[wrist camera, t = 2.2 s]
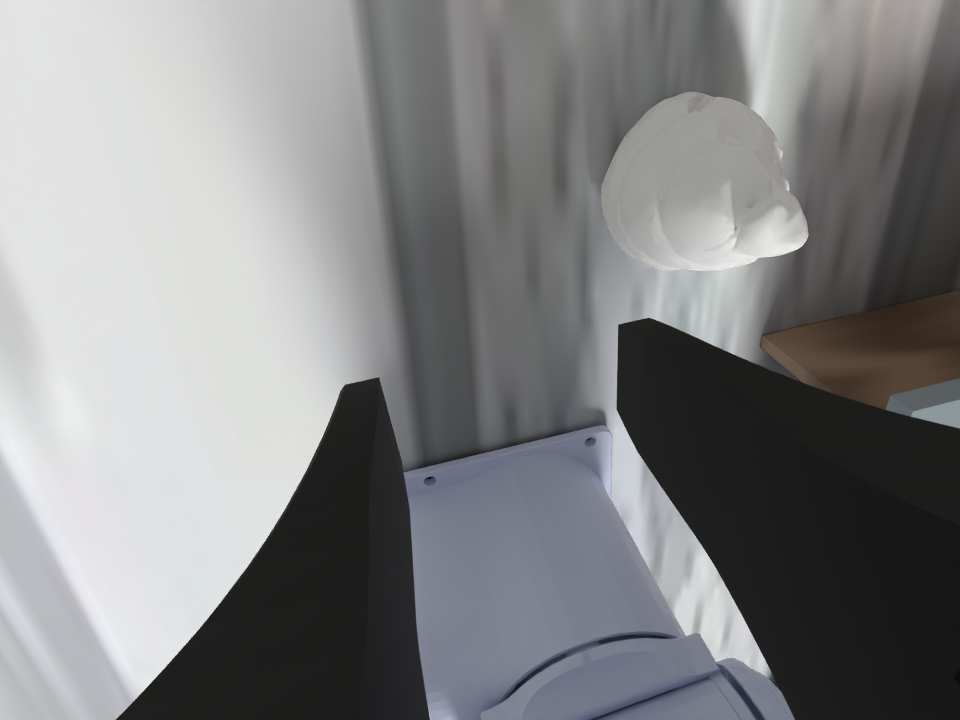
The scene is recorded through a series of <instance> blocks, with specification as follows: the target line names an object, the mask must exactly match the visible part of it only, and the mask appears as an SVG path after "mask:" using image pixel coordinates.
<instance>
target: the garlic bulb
mask: <svg viewBox="0 0 960 720" xmlns="http://www.w3.org/2000/svg"><path fill="white" fill-rule="evenodd" d="M782 155H783V150H782V149H781V148H780V146H779V145H778V142H777V138H776V137H775V135H774V133H773V132H772V130H771V129H770V128H769V127H768V126H767V124H766V123H765V121H764V120H763V119H762V118H761V116H760V115H758V114H757V113H756V112H755V111H753V110H752V109H750V108H749V107H748V106H746V105H744V104H742V103H740V102H738V101H736V100H732V99H729V98H724V97H715V98H714V97H712V96H709V95H706V94H703V93H699V92H685V93H681V94H679V95H676V96H675V97H672V98H667V99H664V100H662V101H661V102H659V103H658V104H656V105H655V106H653V107H652V108H650V109H649V110H648V111H647V112H646V113H645V114H644V115H643V116H642V118H641V119H640V120H639V121H638V122H637V123H636V124H635V125H634V126H633V127H632V128H631V129H630V131H629V132H628V133H627V134H626V135H625V137H624V138H623V140H622V142H621V144H620V146H619V147H618V149H617V151H616V153H615V155H614V157H613V159H612V161H611V163H610V166H609V168H608V170H607V173H606V175H605V178H604V181H603V184H602V188H601V208H602V213H603V216H604V219H605V221H606V224H607V226H608V229H609V231H610V233H611V235H612V237H613V239H614V240H615V242H616V244H617V245H618V246H619V247H620V249H621V250H622V251H623V252H625V253H626V254H627V255H628V256H629V257H630V258H632V259H633V260H636V261H639V262H641V263H644V264H646V265H648V266H650V267H652V268H655V269H658V270H665V271H667V270H680V269H686V270H694V271H709V270H710V271H711V270H722V269H728V268H732V267H737V266H742V265H746V264H750V263H753V262H755V261H756V260H757V259H758V258H759V257H774V256H779V255H783V254H786V253H789V252H792V251H795V250H797V249H799V248H800V247H802V246H803V245H804V243H805V242H806V240H807V238H808V235H809V233H808V227H807V220H806V218H805V215H804V214H803V212H802V209H801V206H800V203H799V202H798V200H797V199H796V198H795V196H793V195H792V194H791V193H790V192H789V189H790V183H789V181H788V180H787V179H786V178H785V177H784V176H783V174H782V170H781V167H780V163H781V159H782Z"/></svg>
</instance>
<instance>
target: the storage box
mask: <svg viewBox="0 0 960 720" xmlns="http://www.w3.org/2000/svg"><path fill="white" fill-rule="evenodd" d="M760 348H762V349H763V350H764V351H765V352H766V353H768V354H769V355H770V356H771V357H772V358H774V359H775V360H776V361H777V362H778V363H780V364H781V365H782V366H783V367H784V368H786V369H787V370H788V371H789V372H790V373H792V374H793V375H794V376H795V377H796V378H798V379H799V380H800V381H801V382H803V383H805V384H807V385H810V386H813V387H816V388H818V389H821V390H824V391H827V392H830V393H833V394H836V395H839V396H842V397H846V398H849V399H852V400H855V401H858V402H862V403H865V404H868V405H871V406H875V407H878V408H881V409H885V410H886V407H887V404H888V402H889V399H890V396H891V395H895V394H899V393H903V392H907V391H911V390H915V389H919V388H923V387H927V386H931V385H935V384H939V383H943V382H947V381H951V380H955V379H959V378H960V290H958V291H953V292H949V293H945V294H940V295H936V296H932V297H927V298H923V299H919V300H914V301H910V302H905V303H901V304H897V305H892V306H888V307H884V308H879V309H875V310H871V311H866V312H862V313H858V314H853V315H849V316H844V317H840V318H836V319H831V320H827V321H823V322H818V323H814V324H810V325H805V326H801V327H797V328H792V329H788V330H783V331H779V332H775V333H770V334H766V335H762V340H761V345H760Z"/></svg>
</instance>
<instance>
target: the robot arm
mask: <svg viewBox="0 0 960 720" xmlns="http://www.w3.org/2000/svg"><path fill="white" fill-rule="evenodd" d="M617 411H618V413H619V415H620V417H621V419H622V421H623V424H624V426H625V428H626V430H627V432H628V434H629V436H630V438H631V440H632V442H633V443H634V445H635V447H636V449H637V451H638V453H639V454H640V456H641V457H642V459H643V460H644V462H645V463H646V465H647V466H648V468H649V469H650V471H651V472H652V474H653V475H654V477H655V478H656V480H657V481H658V483H659V484H660V486H661V487H662V488H663V490H664V491H665V493H666V494H667V496H668V497H669V498H670V500H671V501H672V503H673V504H674V506H675V507H676V509H677V510H678V511H679V513H680V514H681V516H682V517H683V519H684V520H685V522H686V523H687V524H688V526H689V527H690V529H691V530H692V532H693V533H694V535H695V536H696V538H697V539H698V540H699V542H700V543H701V545H702V546H703V548H704V549H705V551H706V553H707V554H708V556H709V557H710V559H711V561H712V562H713V564H714V565H715V567H716V569H717V570H718V572H719V574H720V576H721V578H722V579H723V581H724V583H725V585H726V587H727V589H728V590H729V592H730V594H731V596H732V598H733V600H734V601H735V603H736V605H737V607H738V609H739V610H740V612H741V614H742V616H743V618H744V620H745V622H746V624H747V625H748V627H749V629H750V631H751V633H752V635H753V637H754V639H755V641H756V643H757V645H758V647H759V649H760V651H761V652H762V654H763V656H764V658H765V660H766V662H767V664H768V666H769V668H770V670H771V672H772V674H773V676H774V678H775V680H776V682H777V684H778V686H779V688H780V690H781V691H780V690H779V689H778V688H777V687H776V686H775V685H774V684H773V683H772V682H771V681H770V680H769V679H768V678H767V677H765V676H764V675H762V674H761V673H759V672H757V671H755V670H753V669H751V668H749V667H748V666H747V665H746V664H744V663H743V662H741V661H739V660H737V659H735V658H727V659H724V660H722V661H719V662H715V660H714V658H713V656H712V655H711V653H710V651H709V649H708V648H707V646H706V644H705V642H704V641H703V639H702V637H701V635H700V634H698V633H695V634H692V635H688V636H685V634H684V632H683V630H682V628H681V627H680V625H679V623H678V621H677V619H676V618H675V616H674V614H673V612H672V610H671V608H670V607H669V605H668V603H667V601H666V599H665V597H664V596H663V594H662V592H661V590H660V588H659V586H658V585H657V583H656V581H655V579H654V577H653V575H652V574H651V572H650V570H649V568H648V566H647V565H646V563H645V561H644V559H643V557H642V555H641V554H640V552H639V550H638V548H637V546H636V544H635V543H634V541H633V539H632V537H631V535H630V533H629V532H628V530H627V528H626V526H625V524H624V522H623V521H622V519H621V517H620V515H619V513H618V512H617V510H616V508H615V506H614V504H613V502H612V501H611V470H612V434H611V432H610V430H609V429H608V428H607V427H606V426H603V425H600V426H595V427H591V428H586V429H582V430H578V431H574V432H570V433H566V434H562V435H557V436H553V437H549V438H545V439H541V440H537V441H532V442H528V443H524V444H520V445H516V446H512V447H507V448H503V449H499V450H495V451H491V452H487V453H482V454H478V455H474V456H470V457H466V458H462V459H457V460H453V461H449V462H445V463H441V464H437V465H433V466H428V467H424V468H420V469H416V470H412V471H408V472H403V467H402V461H401V457H400V453H399V450H398V446H397V442H396V439H395V435H394V431H393V428H392V424H391V420H390V416H389V413H388V409H387V405H386V402H385V398H384V394H383V391H382V387H381V383H380V379H379V378H374V379H370V380H365V381H361V382H356V383H351V384H347V385H345V386H344V387H343V389H342V390H341V391H340V394H339V397H338V400H337V403H336V406H335V408H334V411H333V413H332V416H331V418H330V421H329V423H328V426H327V428H326V430H325V433H324V435H323V437H322V439H321V441H320V444H319V446H318V448H317V450H316V452H315V454H314V456H313V458H312V460H311V462H310V465H309V467H308V469H307V471H306V473H305V474H304V476H303V478H302V480H301V482H300V484H299V485H298V487H297V489H296V491H295V492H294V494H293V496H292V498H291V500H290V501H289V503H288V505H287V507H286V509H285V510H284V512H283V514H282V515H281V517H280V519H279V520H278V522H277V524H276V525H275V527H274V528H273V530H272V531H271V533H270V535H269V536H268V538H267V539H266V541H265V542H264V544H263V545H262V547H261V548H260V550H259V551H258V553H257V554H256V555H255V557H254V558H253V560H252V561H251V563H250V564H249V566H248V567H247V568H246V570H245V571H244V572H243V574H242V575H241V576H240V578H239V579H238V580H237V582H236V583H235V584H234V586H233V587H232V588H231V590H230V591H229V592H228V594H227V595H226V596H225V598H224V599H223V600H222V602H221V603H220V604H219V605H218V607H217V608H216V609H215V610H214V612H213V613H212V614H211V615H210V617H209V618H208V619H207V620H206V622H205V623H204V624H203V625H202V626H201V628H200V629H199V630H198V631H197V632H196V634H195V635H194V636H193V637H192V638H191V639H190V640H189V641H188V643H187V644H186V645H185V646H184V647H183V648H182V649H181V651H180V652H179V653H178V654H177V655H176V656H175V657H174V658H173V660H172V661H171V662H170V663H169V664H168V665H167V666H166V667H165V669H164V670H163V671H162V672H161V673H160V674H159V675H158V676H157V677H156V678H155V679H154V680H153V682H152V683H151V684H150V685H149V686H148V687H147V688H146V689H145V690H144V691H143V692H142V693H141V694H140V695H139V697H138V698H137V699H136V700H135V701H134V702H133V703H132V704H131V705H130V706H129V707H128V708H127V709H126V710H125V711H124V712H123V713H122V714H121V715H120V716H119V717H118V718H117V719H116V720H430V718H429V712H428V707H429V711H430V715H431V719H432V720H960V428H956V427H952V426H947V425H943V424H939V423H935V422H931V421H927V420H923V419H919V418H914V417H910V416H907V415H903V414H899V413H896V412H892V411H888V410H885V409H881V408H878V407H875V406H871V405H868V404H865V403H862V402H858V401H855V400H852V399H849V398H846V397H842V396H839V395H836V394H833V393H830V392H827V391H824V390H821V389H818V388H816V387H813V386H810V385H807V384H805V383H802V382H800V381H797V380H794V379H792V378H789V377H786V376H784V375H781V374H779V373H776V372H773V371H771V370H769V369H766V368H764V367H761V366H759V365H756V364H754V363H752V362H749V361H747V360H745V359H742V358H740V357H738V356H736V355H733V354H731V353H729V352H726V351H724V350H722V349H720V348H718V347H715V346H713V345H711V344H709V343H707V342H704V341H702V340H700V339H698V338H696V337H693V336H691V335H689V334H687V333H685V332H682V331H680V330H678V329H676V328H673V327H671V326H669V325H666V324H664V323H661V322H659V321H656V320H654V319H651V318H646V319H642V320H637V321H633V322H628V323H624V324H619V325H618V370H617ZM588 438H591V439H590V440H588V441H586V440H587V439H588ZM427 477H433V478H431V479H426V478H427ZM427 703H428V705H427Z"/></svg>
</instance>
